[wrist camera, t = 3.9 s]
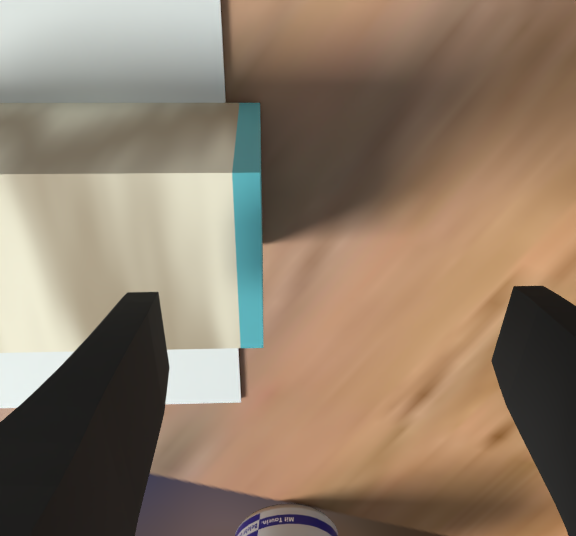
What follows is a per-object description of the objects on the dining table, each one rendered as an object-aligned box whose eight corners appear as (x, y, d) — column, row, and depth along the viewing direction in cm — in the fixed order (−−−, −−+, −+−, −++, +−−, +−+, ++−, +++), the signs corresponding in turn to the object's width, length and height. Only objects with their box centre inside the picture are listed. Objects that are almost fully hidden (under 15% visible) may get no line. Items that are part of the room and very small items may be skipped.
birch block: (260, 172, 12) (-224, 175, 11) (263, 347, 14) (-125, 355, 14) (260, 102, 16) (-93, 102, 15) (262, 249, 19) (-37, 252, 18)
